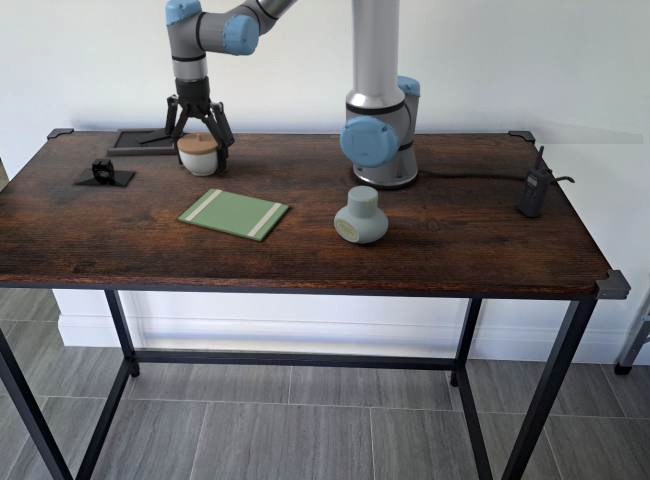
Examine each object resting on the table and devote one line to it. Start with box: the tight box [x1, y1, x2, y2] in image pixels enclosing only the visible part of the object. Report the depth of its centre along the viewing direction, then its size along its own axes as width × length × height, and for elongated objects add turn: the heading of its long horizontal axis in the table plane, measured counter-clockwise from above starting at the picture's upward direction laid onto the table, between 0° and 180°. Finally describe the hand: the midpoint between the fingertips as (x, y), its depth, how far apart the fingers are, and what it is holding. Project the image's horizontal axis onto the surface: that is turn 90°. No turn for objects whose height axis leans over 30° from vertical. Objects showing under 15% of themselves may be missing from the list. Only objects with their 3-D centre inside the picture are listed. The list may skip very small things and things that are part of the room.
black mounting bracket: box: [75, 158, 135, 188], centre depth 135 cm, size 12×7×5 cm, turn 83°
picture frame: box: [106, 126, 184, 157], centre depth 150 cm, size 13×2×18 cm
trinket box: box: [177, 131, 219, 177], centre depth 135 cm, size 11×11×9 cm
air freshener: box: [333, 185, 389, 244], centre depth 112 cm, size 11×8×10 cm
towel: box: [177, 188, 290, 242], centre depth 122 cm, size 20×14×1 cm
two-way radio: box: [517, 145, 554, 218], centre depth 116 cm, size 6×4×15 cm
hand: (203, 166), depth 138 cm, fingers closed on trinket box, 11 cm apart
